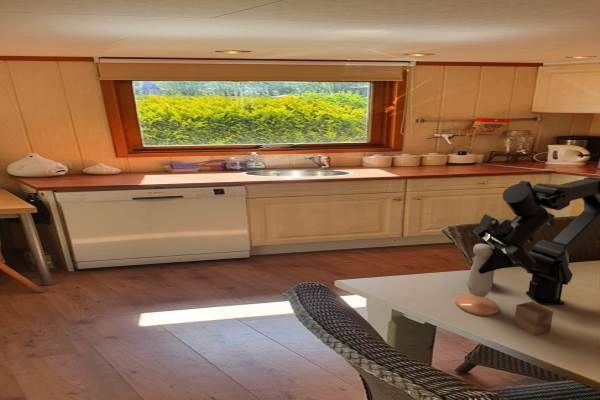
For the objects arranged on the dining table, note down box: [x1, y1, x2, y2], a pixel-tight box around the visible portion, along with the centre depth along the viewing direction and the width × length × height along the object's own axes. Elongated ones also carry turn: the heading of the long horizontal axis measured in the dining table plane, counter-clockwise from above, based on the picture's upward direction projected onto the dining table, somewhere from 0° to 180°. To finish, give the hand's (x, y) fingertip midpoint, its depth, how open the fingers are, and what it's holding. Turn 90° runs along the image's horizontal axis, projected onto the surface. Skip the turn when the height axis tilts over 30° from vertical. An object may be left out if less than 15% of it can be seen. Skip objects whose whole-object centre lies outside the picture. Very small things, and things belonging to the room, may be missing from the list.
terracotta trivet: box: [454, 293, 500, 317], centre depth 92 cm, size 10×10×1 cm
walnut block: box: [513, 300, 554, 336], centre depth 82 cm, size 5×5×5 cm
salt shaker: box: [466, 243, 493, 297], centre depth 90 cm, size 6×6×13 cm
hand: (475, 269), depth 90 cm, fingers closed on salt shaker, 3 cm apart
